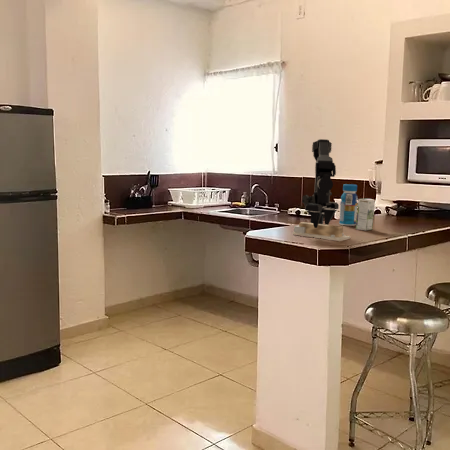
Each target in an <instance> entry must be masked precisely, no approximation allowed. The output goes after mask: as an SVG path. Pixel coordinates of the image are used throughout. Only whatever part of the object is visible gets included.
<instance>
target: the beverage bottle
mask: <svg viewBox="0 0 450 450" xmlns="http://www.w3.org/2000/svg"><path fill="white" fill-rule="evenodd" d="M342 191H343V193H342V194H341V196H340V203H339V204H340V205H339V206H340V207H339V223H338V224H339V226H347V227H353V226H355V227H356V219H357V208H358V199H359V198H358V194H357V191H358V185H357V184H353V183H351V184H350V183H349V184H347V183H345V184H343V186H342Z"/></svg>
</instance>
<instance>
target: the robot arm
mask: <svg viewBox="0 0 450 450" xmlns="http://www.w3.org/2000/svg"><path fill="white" fill-rule="evenodd" d="M332 145H333V144H332V142H331V141H330V139H321V138H319V139H317V140H316V141H313V142H312V146H311V152H312V155H313V159H314V160H315V165H314V173H315V174H314V175H315V176H314V192H313V194H312V196H311V195H310V196H309V195H308V194H305V195H302V197H301V198H302V199H301V203H302V204H303V205H304V211H306V212H307V214H308V216H310V222H309V223H313V225H314V228H317V226H318V224H325V225H330V222H331V220H332V219H333V217H334V216H335V213H336V212H337V211H338V210H339V209H340V207H339V206H340V205H339V203H338V202H335V201H330V200H331V198H330V197H331V196H332V195H333V193H332V192H331V190H332V189H333V187H334V183H333V182H334V181H332V179H331V178H332V177H333V178H334V177H335V176H336V174H337V172H336V171H337V170H336V164H335V162H334V160H333V158H332V157H331V156H330V153H332V147H333V146H332Z"/></svg>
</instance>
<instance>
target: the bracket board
mask: <svg viewBox="0 0 450 450" xmlns="http://www.w3.org/2000/svg"><path fill="white" fill-rule="evenodd" d="M305 228H306V227H300V226H299V224H298V225H294V227H293V231H292V235H293V236H294V235H295V236H302V237H308V238H313V237H314V238H315V239H320V238H321V240H329V241H336V242H342V241H345V240H350V239H351V235H345V233H344V232H343V234H342V236H341V237H335V235H331V236H326V235H318V234H310V233H305Z"/></svg>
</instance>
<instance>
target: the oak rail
mask: <svg viewBox="0 0 450 450" xmlns="http://www.w3.org/2000/svg"><path fill="white" fill-rule="evenodd" d="M298 225H299V226H300V227H306V228H305V233H310V234H318V235H326V236H331V235H335V237H341V236H342V234H343V233H344V232H343V231H344V225H332V224H328V225H325V223H323V224H318V226H317V228H314V225H313V223H310V222H306V221H302V222H299V223H298Z"/></svg>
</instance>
